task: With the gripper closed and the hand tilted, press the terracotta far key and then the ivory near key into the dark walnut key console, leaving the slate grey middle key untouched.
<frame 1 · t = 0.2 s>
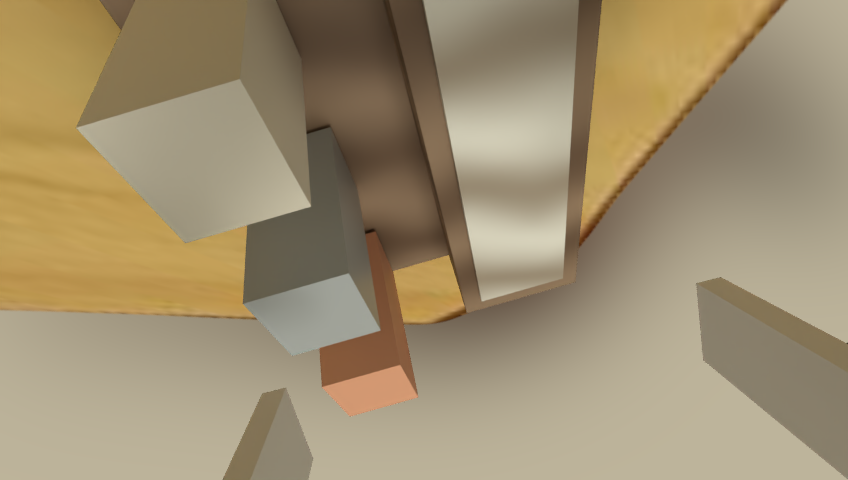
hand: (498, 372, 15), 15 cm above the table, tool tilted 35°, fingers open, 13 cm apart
terracotta key: (363, 319, 28), point 6 cm above the table, slide at 0.0 cm
key console: (413, 122, 25), on the table
slate key: (312, 235, 22), point 6 cm above the table, slide at 0.0 cm
ivory key: (221, 83, 16), point 6 cm above the table, slide at 0.0 cm
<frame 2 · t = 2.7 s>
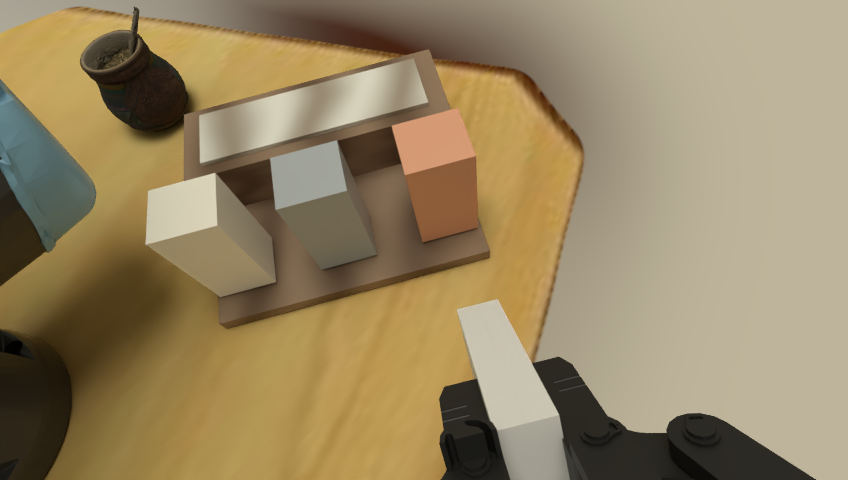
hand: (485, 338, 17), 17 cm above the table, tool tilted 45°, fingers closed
terracotta key: (438, 181, 33), point 6 cm above the table, slide at 0.0 cm
key console: (339, 189, 41), on the table
slate key: (328, 210, 33), point 6 cm above the table, slide at 0.0 cm
mate gourd: (166, 113, 48), on the table
ivory key: (218, 240, 33), point 6 cm above the table, slide at 0.0 cm
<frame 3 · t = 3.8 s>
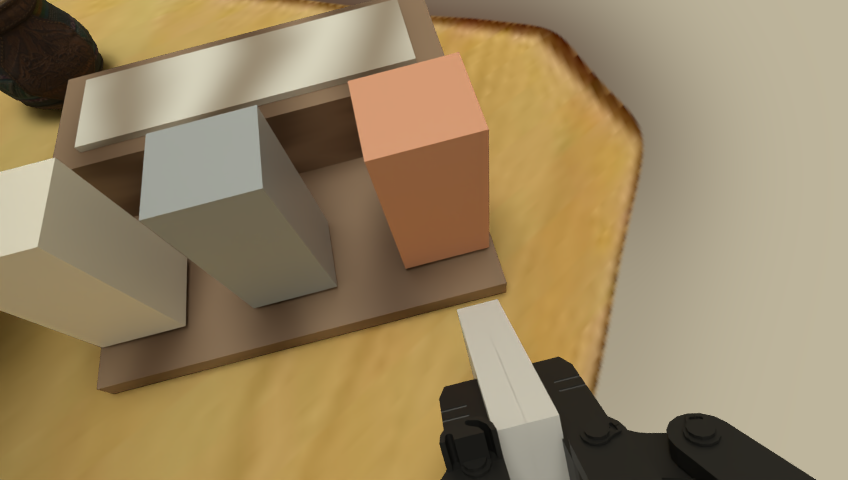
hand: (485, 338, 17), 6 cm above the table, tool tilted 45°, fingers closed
terracotta key: (428, 175, 21), point 6 cm above the table, slide at 0.0 cm
key console: (292, 188, 29), on the table
slate key: (255, 221, 21), point 6 cm above the table, slide at 0.0 cm
mate gourd: (77, 87, 37), on the table
ivory key: (82, 266, 21), point 6 cm above the table, slide at 0.0 cm
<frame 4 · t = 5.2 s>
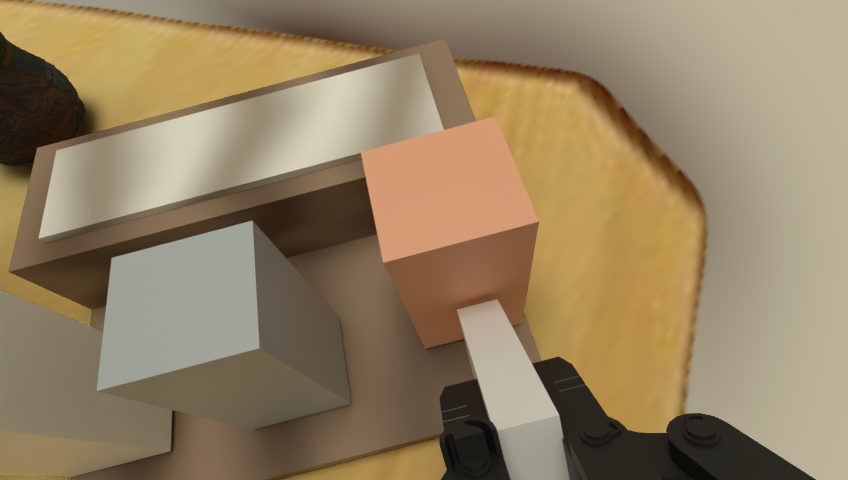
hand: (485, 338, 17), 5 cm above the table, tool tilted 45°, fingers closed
terracotta key: (454, 252, 18), point 6 cm above the table, slide at 1.5 cm, touching gripper
key console: (297, 267, 25), on the table
slate key: (252, 343, 17), point 6 cm above the table, slide at 0.0 cm
mate gourd: (57, 138, 33), on the table
ivory key: (40, 399, 17), point 6 cm above the table, slide at 0.0 cm
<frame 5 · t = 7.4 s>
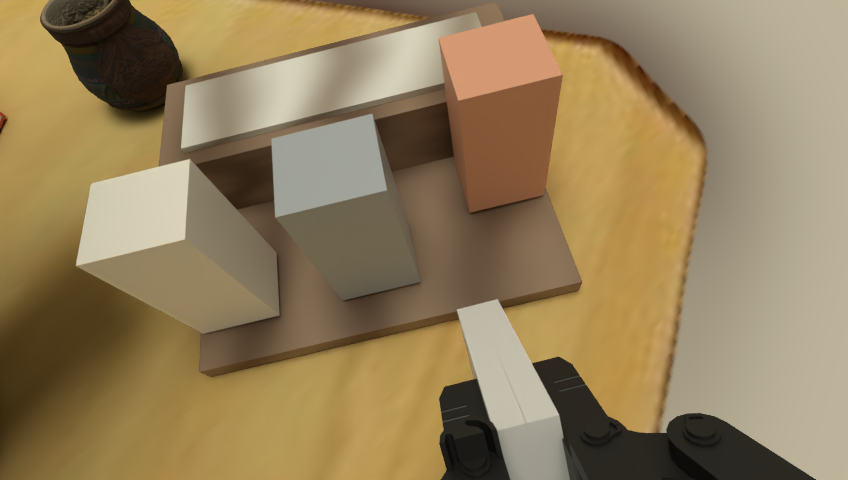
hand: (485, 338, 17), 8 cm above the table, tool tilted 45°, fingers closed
terracotta key: (497, 125, 24), point 6 cm above the table, slide at 3.5 cm
key console: (368, 189, 31), on the table
slate key: (355, 219, 23), point 6 cm above the table, slide at 0.0 cm
mate gourd: (156, 90, 39), on the table
ivory key: (197, 257, 23), point 6 cm above the table, slide at 0.0 cm
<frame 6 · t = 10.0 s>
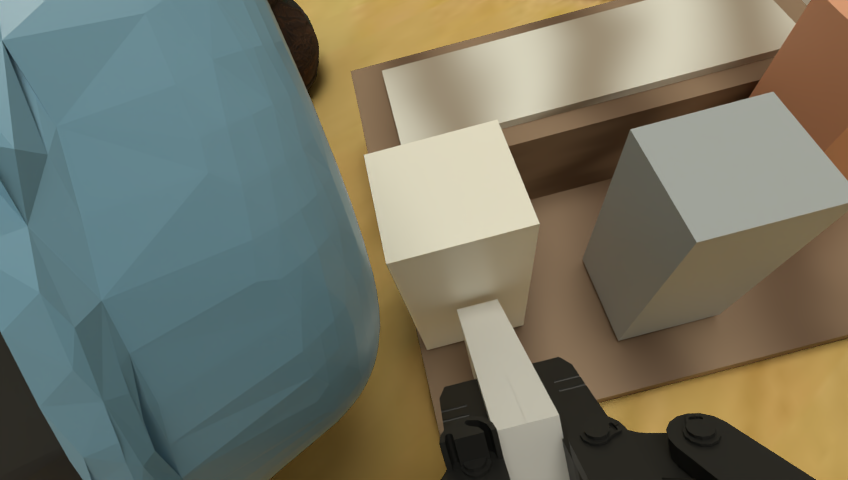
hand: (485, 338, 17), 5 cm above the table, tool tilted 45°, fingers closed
terracotta key: (835, 111, 19), point 6 cm above the table, slide at 3.5 cm
key console: (589, 196, 25), on the table
slate key: (682, 237, 17), point 6 cm above the table, slide at 0.0 cm
mate gourd: (282, 84, 33), on the table
ivory key: (456, 253, 18), point 6 cm above the table, slide at 1.7 cm, touching gripper
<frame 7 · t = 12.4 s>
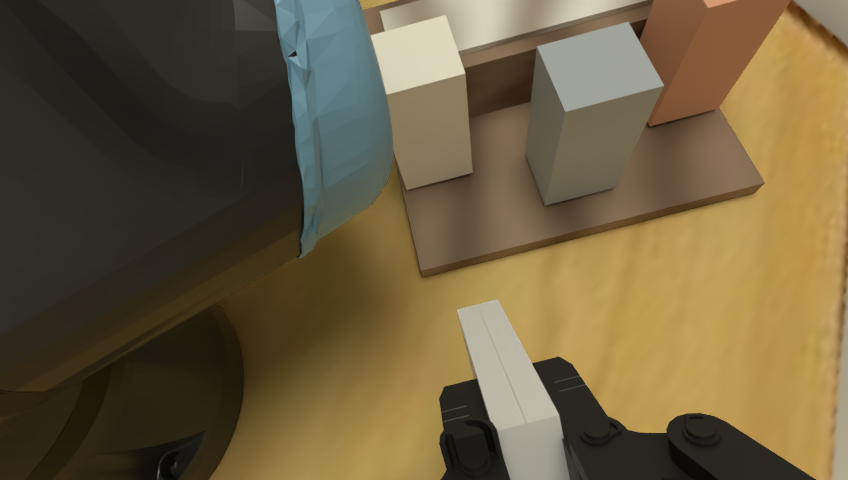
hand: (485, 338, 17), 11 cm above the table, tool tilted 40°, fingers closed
terracotta key: (697, 40, 27), point 6 cm above the table, slide at 3.5 cm
key console: (536, 110, 34), on the table
slate key: (581, 125, 26), point 6 cm above the table, slide at 0.0 cm
ivory key: (423, 113, 27), point 6 cm above the table, slide at 3.5 cm
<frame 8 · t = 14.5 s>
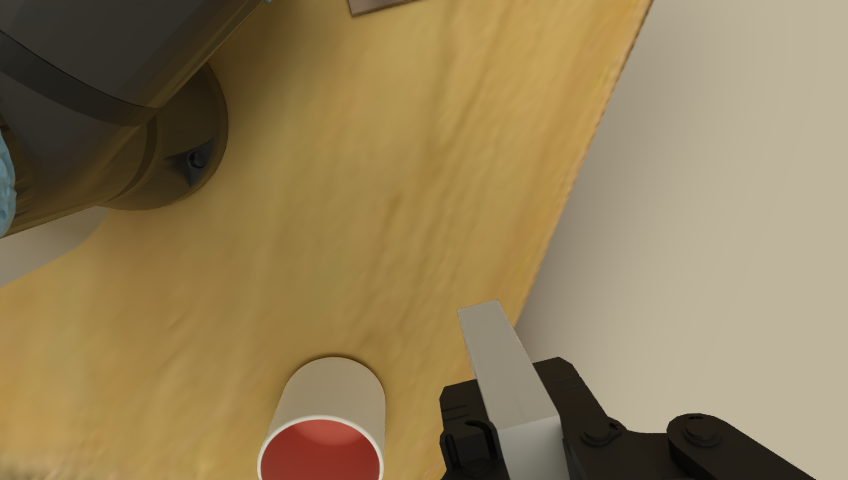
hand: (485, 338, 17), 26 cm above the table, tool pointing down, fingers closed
cup: (335, 395, 48), on the table
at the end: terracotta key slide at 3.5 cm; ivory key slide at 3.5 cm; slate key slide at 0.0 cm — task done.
